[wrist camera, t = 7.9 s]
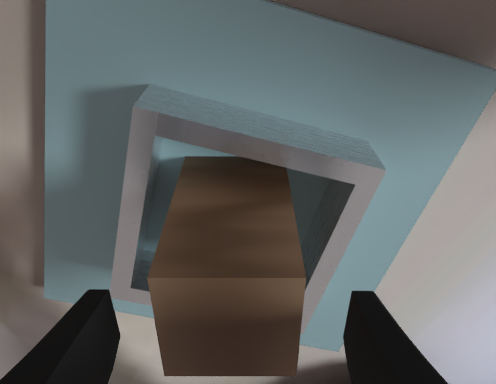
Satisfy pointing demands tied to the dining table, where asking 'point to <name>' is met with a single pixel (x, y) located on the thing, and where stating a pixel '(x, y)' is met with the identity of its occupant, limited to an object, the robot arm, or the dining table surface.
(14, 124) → the dining table surface
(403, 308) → the dining table surface
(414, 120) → the board
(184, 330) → the peg
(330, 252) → the socket
